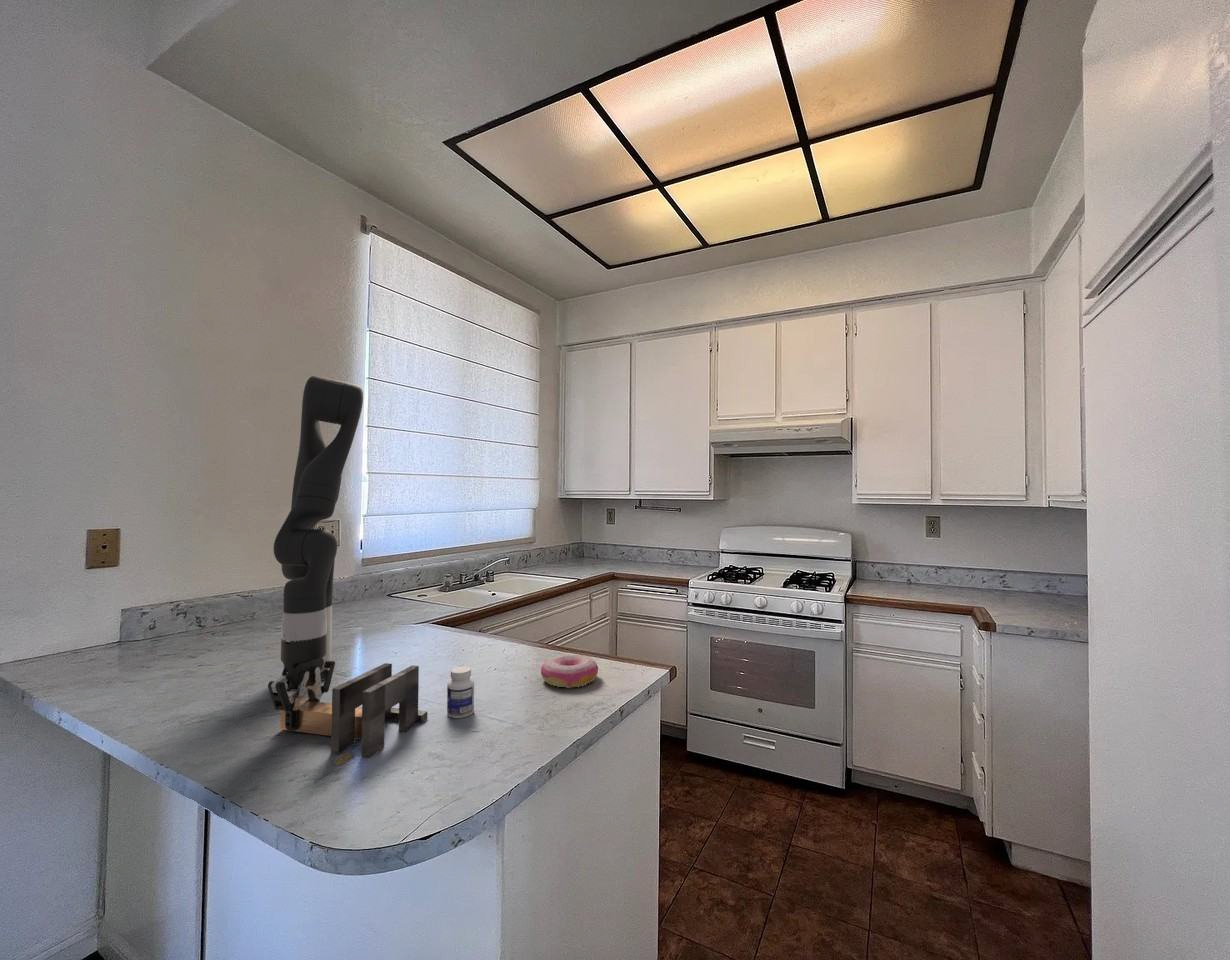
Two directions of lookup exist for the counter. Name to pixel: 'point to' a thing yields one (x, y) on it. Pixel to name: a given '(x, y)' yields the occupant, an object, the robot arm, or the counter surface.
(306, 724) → the tall wooden block
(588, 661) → the donut
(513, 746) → the counter surface
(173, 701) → the counter surface
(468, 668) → the pill bottle
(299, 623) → the robot arm
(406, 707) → the dark two-tier wooden rack
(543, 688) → the counter surface
